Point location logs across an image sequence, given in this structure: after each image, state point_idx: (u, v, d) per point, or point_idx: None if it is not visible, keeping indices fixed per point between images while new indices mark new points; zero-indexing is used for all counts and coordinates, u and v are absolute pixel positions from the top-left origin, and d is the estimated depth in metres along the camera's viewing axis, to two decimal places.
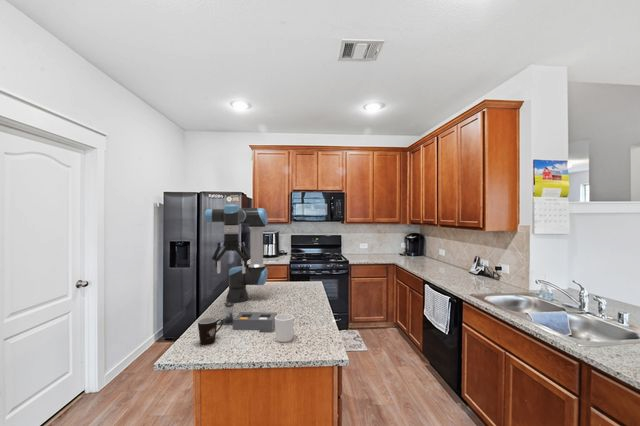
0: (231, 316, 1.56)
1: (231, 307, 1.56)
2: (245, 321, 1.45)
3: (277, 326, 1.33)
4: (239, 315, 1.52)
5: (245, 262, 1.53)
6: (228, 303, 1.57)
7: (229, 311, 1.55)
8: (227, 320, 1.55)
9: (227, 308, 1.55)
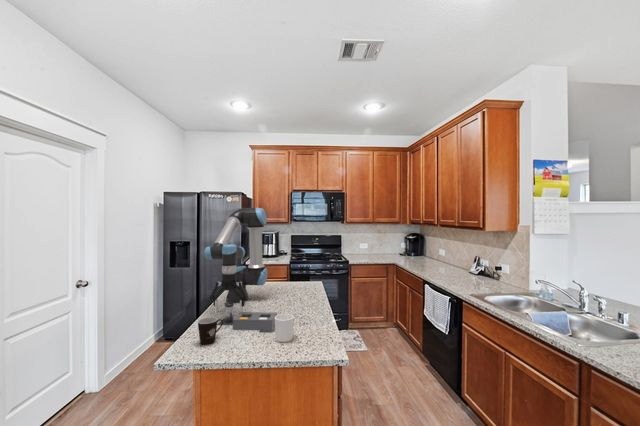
0: (231, 316, 1.56)
1: (231, 307, 1.56)
2: (245, 321, 1.45)
3: (277, 326, 1.33)
4: (239, 315, 1.52)
5: (242, 302, 1.56)
6: (228, 303, 1.57)
7: (229, 311, 1.55)
8: (227, 320, 1.55)
9: (227, 308, 1.55)
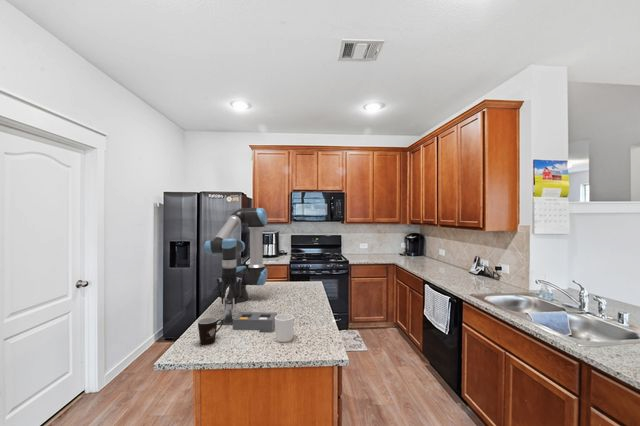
0: (231, 313, 1.56)
1: (231, 304, 1.56)
2: (245, 321, 1.45)
3: (277, 326, 1.33)
4: (239, 315, 1.52)
5: (235, 299, 1.57)
6: (228, 300, 1.57)
7: (229, 308, 1.55)
8: (226, 317, 1.55)
9: (227, 305, 1.55)
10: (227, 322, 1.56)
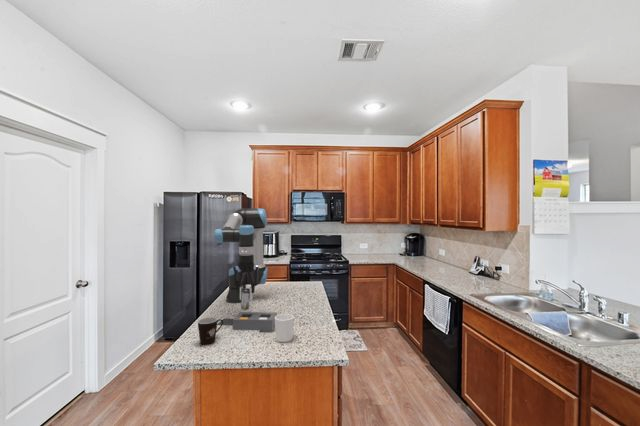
0: (247, 303, 1.50)
1: (248, 293, 1.50)
2: (245, 321, 1.45)
3: (277, 326, 1.33)
4: (239, 315, 1.52)
5: (252, 288, 1.51)
6: (245, 289, 1.51)
7: (246, 297, 1.49)
8: (243, 306, 1.49)
9: (244, 294, 1.49)
10: (227, 322, 1.56)
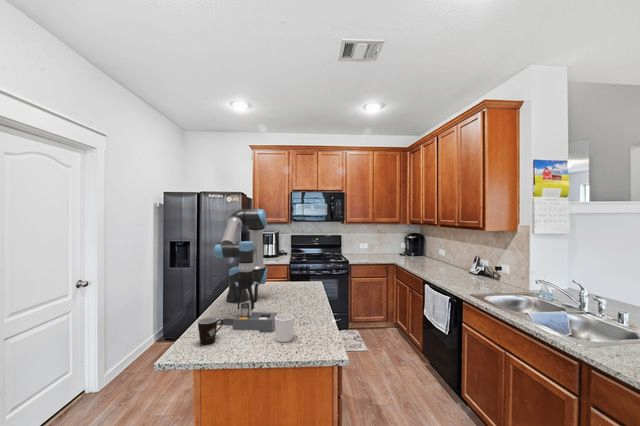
0: None
1: (248, 309, 1.50)
2: (245, 321, 1.45)
3: (277, 326, 1.33)
4: None
5: (252, 304, 1.50)
6: (245, 304, 1.51)
7: (246, 313, 1.49)
8: None
9: (244, 309, 1.49)
10: (227, 322, 1.56)
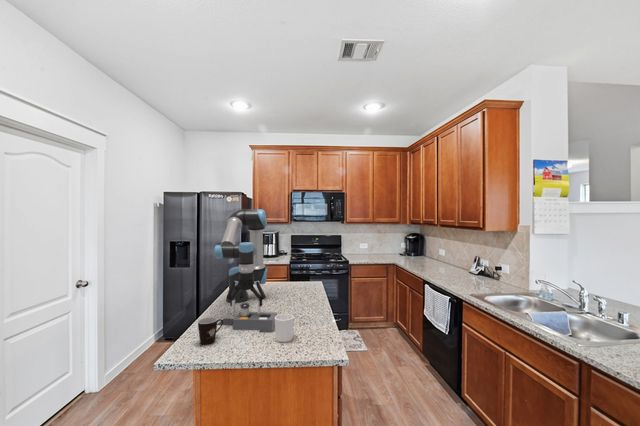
0: None
1: (247, 308, 1.50)
2: (245, 321, 1.45)
3: (277, 326, 1.33)
4: (239, 315, 1.52)
5: (260, 301, 1.50)
6: (244, 304, 1.51)
7: (245, 313, 1.49)
8: None
9: (243, 310, 1.49)
10: (227, 322, 1.56)
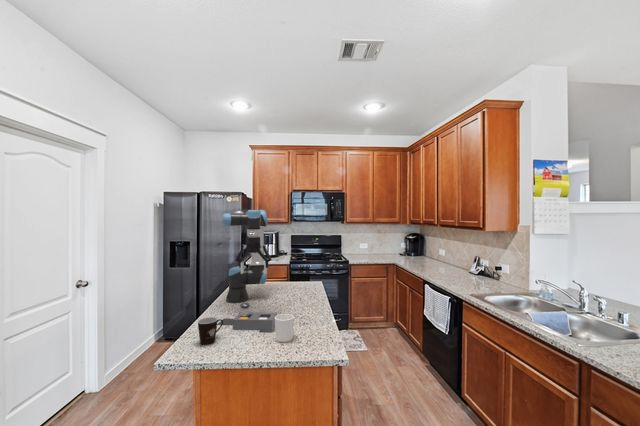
0: None
1: (247, 308, 1.50)
2: (245, 321, 1.45)
3: (277, 326, 1.33)
4: (239, 315, 1.52)
5: (266, 263, 1.65)
6: (244, 304, 1.51)
7: (245, 313, 1.49)
8: None
9: (243, 310, 1.49)
10: (227, 322, 1.56)
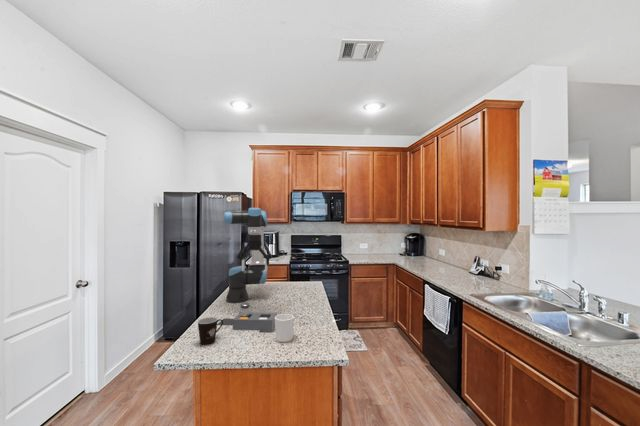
0: None
1: (247, 308, 1.50)
2: (245, 321, 1.45)
3: (277, 326, 1.33)
4: (239, 315, 1.52)
5: (267, 261, 1.67)
6: (244, 304, 1.51)
7: (245, 313, 1.49)
8: None
9: (243, 310, 1.49)
10: (227, 322, 1.56)
